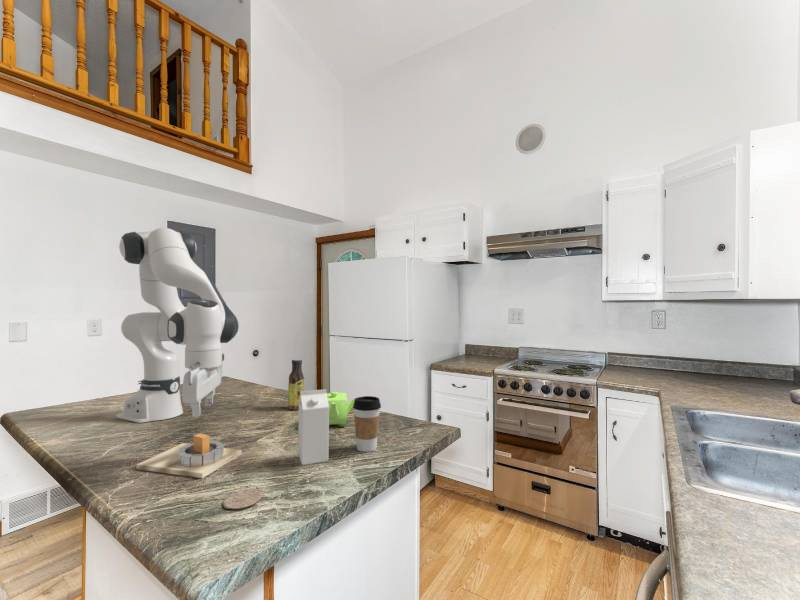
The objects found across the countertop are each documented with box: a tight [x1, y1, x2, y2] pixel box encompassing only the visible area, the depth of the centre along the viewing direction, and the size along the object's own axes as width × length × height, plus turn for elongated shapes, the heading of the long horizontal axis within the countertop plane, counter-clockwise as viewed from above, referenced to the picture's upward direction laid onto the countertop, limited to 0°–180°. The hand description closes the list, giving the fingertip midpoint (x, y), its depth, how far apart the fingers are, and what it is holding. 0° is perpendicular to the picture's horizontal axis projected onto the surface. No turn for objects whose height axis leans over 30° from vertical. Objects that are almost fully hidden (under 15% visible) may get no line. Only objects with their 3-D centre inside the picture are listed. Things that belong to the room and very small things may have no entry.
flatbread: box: [222, 488, 263, 510], centre depth 82 cm, size 8×8×1 cm
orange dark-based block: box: [189, 432, 214, 454], centre depth 101 cm, size 6×6×6 cm
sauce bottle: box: [287, 358, 305, 411], centre depth 153 cm, size 6×6×20 cm
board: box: [136, 442, 242, 479], centre depth 102 cm, size 20×15×1 cm
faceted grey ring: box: [177, 440, 225, 467], centre depth 101 cm, size 11×11×3 cm
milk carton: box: [297, 389, 330, 466], centre depth 104 cm, size 7×7×19 cm
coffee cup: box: [352, 395, 382, 453], centre depth 112 cm, size 8×8×15 cm
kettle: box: [327, 391, 355, 428], centre depth 134 cm, size 15×14×11 cm
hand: (203, 410), depth 102 cm, fingers open, 8 cm apart
